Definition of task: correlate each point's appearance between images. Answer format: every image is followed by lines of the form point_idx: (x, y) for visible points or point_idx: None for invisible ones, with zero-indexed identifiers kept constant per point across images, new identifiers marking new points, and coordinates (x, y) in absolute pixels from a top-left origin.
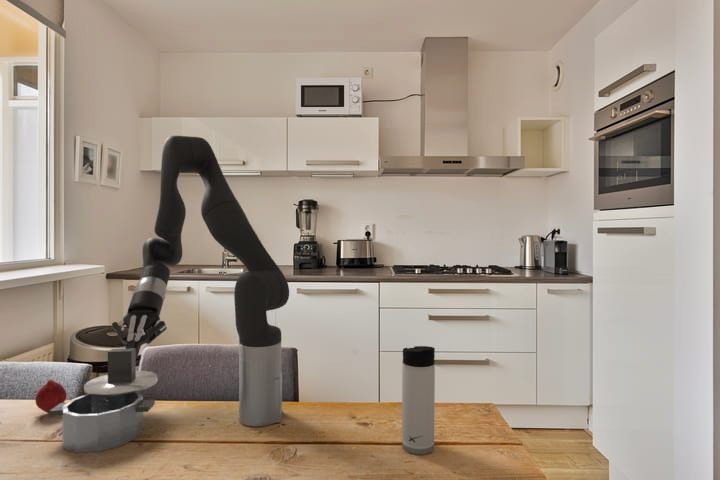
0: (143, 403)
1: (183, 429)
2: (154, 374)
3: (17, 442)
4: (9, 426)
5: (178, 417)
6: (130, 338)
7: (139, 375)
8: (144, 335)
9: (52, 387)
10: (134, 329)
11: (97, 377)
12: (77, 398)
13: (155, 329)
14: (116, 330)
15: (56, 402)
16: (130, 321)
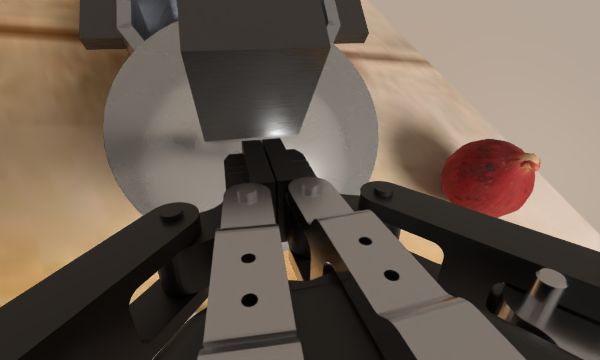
0: (107, 10)
1: (29, 90)
2: (139, 199)
3: (398, 51)
4: (480, 120)
5: (67, 166)
6: (305, 184)
7: (208, 183)
8: (186, 221)
9: (492, 148)
10: (325, 249)
11: (374, 158)
12: (330, 30)
13: (46, 295)
14: (498, 222)
15: (447, 160)
16: (455, 300)
